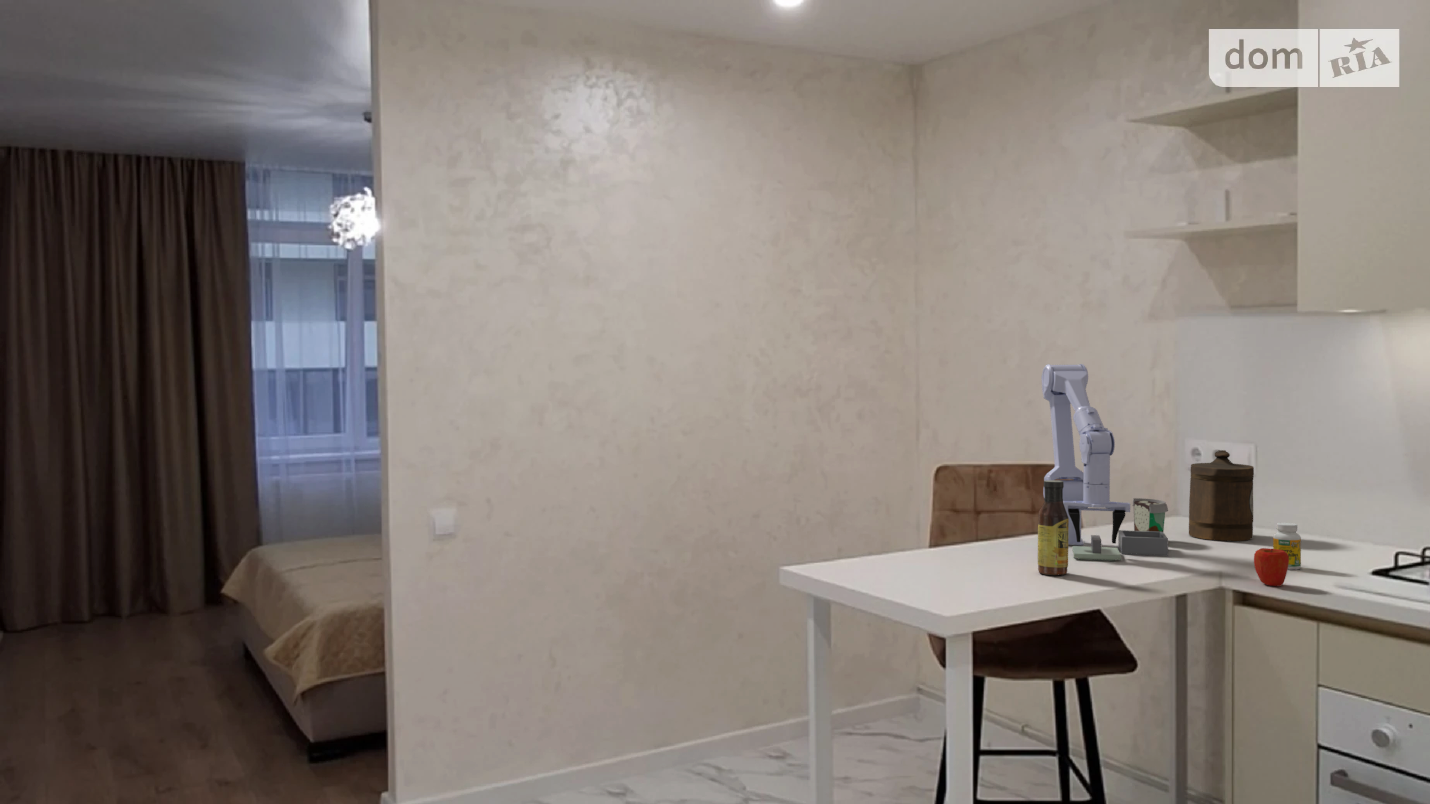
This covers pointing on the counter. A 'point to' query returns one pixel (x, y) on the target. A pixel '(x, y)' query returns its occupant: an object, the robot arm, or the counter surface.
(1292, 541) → the supplement bottle
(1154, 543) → the tub
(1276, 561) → the apple
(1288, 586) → the counter surface
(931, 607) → the counter surface
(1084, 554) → the lid
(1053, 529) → the sauce bottle
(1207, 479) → the wooden container
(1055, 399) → the robot arm
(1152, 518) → the food container
